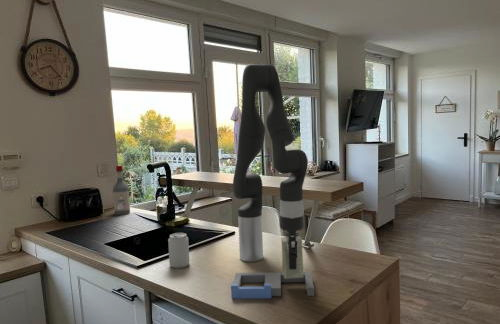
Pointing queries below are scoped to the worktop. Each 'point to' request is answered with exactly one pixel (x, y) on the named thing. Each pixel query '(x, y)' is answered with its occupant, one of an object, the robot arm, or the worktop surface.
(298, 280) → the rail
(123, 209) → the liquor
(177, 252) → the can
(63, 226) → the worktop surface
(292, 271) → the skincare box
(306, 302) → the worktop surface
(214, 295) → the worktop surface
